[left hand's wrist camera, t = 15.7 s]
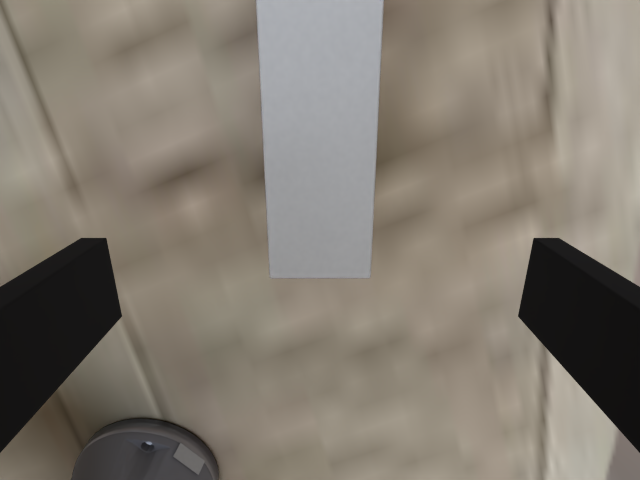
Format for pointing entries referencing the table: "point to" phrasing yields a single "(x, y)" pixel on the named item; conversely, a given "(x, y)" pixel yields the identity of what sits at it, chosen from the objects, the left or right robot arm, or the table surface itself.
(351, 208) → the box
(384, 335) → the table surface
